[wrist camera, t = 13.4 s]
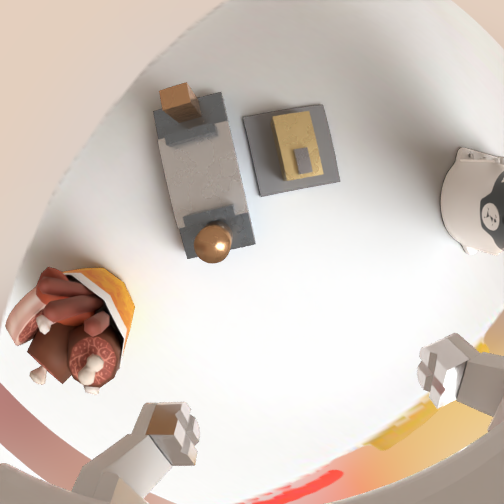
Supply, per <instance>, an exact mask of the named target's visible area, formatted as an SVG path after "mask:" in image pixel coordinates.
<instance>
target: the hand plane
mask: <svg viewBox="0 0 504 504" xmlns="http://www.w3.org/2000/svg"><path fill="white" fill-rule="evenodd" d="M159 93H160V99H161V104H162V109H159V110H156V111H153V112H154V118H155V123H156V128H157V134H158V139H159V140H158V145H159V150H160V155H161V160H162V164H163V169H164V173H165V178H166V182H167V187H168V191H169V195H170V199H171V203H172V207H173V211H174V215H175V219H176V223H177V227H178V229H179V230H180V234H181V237H182V241H183V245H184V248H185V252H186V256H187V259H190V258H195V257H199V258H200V259H201V260H203V261H205V262H207V263H218V262H220V261H222V260H224V259H225V258H226V257H227V255H228V253H229V251H230V250H231V249H236V248H240V247H245V246H250V245H254V244H255V237H254V233H253V228H252V224H251V219H250V215H249V210H248V206H247V201H246V197H245V192H244V188H243V183H242V179H241V175H240V170H239V166H238V161H237V157H236V152H235V148H234V144H233V139H232V135H231V130H230V126H229V122H228V117H227V113H226V109H225V104H224V100H223V96H222V93H221V92H219V93H215V94H211V95H207V96H203V97H199V98H197V97H196V96H195V94H194V93H193V91H192V90H191V88H190V87H189V85H188V84H187V82H186V83H182V84H179V85H176V86H172V87H169V88H166V89H163V90H160V91H159Z"/></svg>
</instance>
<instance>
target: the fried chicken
mask: <svg viewBox="0 0 504 504" xmlns="http://www.w3.org/2000/svg"><path fill="white" fill-rule="evenodd" d="M134 309H135V306H134V303H133V301H132V299H131V297H130V295H129V293H128V291H127V288H126V286H125V284H124V282H122V281H121V280H119V279H118V278H117V277H115V276H114V275H113V274H111V273H110V272H109V271H107V270H106V269H105V268H82V269H76V270H70V271H64V272H61V271H59V270H57V269H55V268H51V267H47V268H46V269H45V270H44V271H43V272H42V273H41V275H40V278H39V280H38V283H37V285H36V287H35V288H33V289H32V290H31V291H30V292H29V293H27V294H26V295H25V296H24V297H23V298H22V299H21V300H20V301H19V302H18V304H17V305H16V306H15V307H14V308H13V310H12V311H11V313H10V314H9V317H8V319H7V321H6V325H5V326H6V329H7V331H8V332H9V334H10V336H11V338H12V339H13V341H14V343H15V345H17V346H19V345H22V344H24V343H26V342H28V341H30V340H31V339H33V340H32V342H31V344H30V346H29V348H28V351H27V352H28V353H29V354H30V355H31V356H32V357H33V358H34V359H35V360H36V361H37V362H38V363H39V364H40V365H41V366H40V367H39V368H37V369H35V370H33V371H31V372H30V377H31V379H32V380H33V381H34V382H36V383H37V384H41V385H43V384H45V381H46V373H47V371H48V372H49V373H50V374H51V375H53V376H54V377H55V378H56V379H57V380H58V381H60V382H61V383H62V384H63V383H64V382H65V381H66V380H67V379H68V378H69V377H70V376H71V375H72V376H73V378H74V379H75V380H76V381H78V382H79V383H81V384H82V385H84V388H85V391H86V392H87V393H90V394H93V395H97V394H98V393H99V389H100V387H102V386H103V385H104V384H106V383H107V382H109V381H110V380H112V379H113V378H114V377H115V374H116V372H117V370H118V369H120V366H121V361H122V356H123V352H124V349H125V345H126V342H127V338H128V335H129V331H130V328H131V323H132V318H133V314H134Z"/></svg>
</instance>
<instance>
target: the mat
mask: <svg viewBox="0 0 504 504" xmlns="http://www.w3.org/2000/svg"><path fill="white" fill-rule="evenodd" d="M304 111H309V112H310V116H311V120H312V124H313V128H314V133H315V137H316V141H317V145H318V150H319V155H320V159H321V164H322V169H323V175H317V176H311V177H306V178H301V179H295V180H290V181H283V177H282V173H281V168H280V164H279V159H278V155H277V150H276V146H275V141H274V137H273V133H272V129H271V124H270V122H271V119H272V117H273V116H278V115H284V114H290V113H297V112H304ZM243 120H244V124H245V128H246V133H247V137H248V141H249V146H250V150H251V154H252V159H253V163H254V168H255V172H256V177H257V181H258V186H259V190H260V195H261V197H263V196H268V195H273V194H278V193H283V192H288V191H293V190H298V189H303V188H308V187H314V186H319V185H325V184H330V183H336V182H340V177H339V172H338V167H337V162H336V157H335V153H334V148H333V144H332V139H331V135H330V131H329V126H328V122H327V118H326V114H325V110H324V107H323V105H315V106H307V107H299V108H292V109H286V110H280V111H274V112H268V113H262V114H257V115H252V116H247V117H243Z"/></svg>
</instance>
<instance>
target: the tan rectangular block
mask: <svg viewBox="0 0 504 504" xmlns="http://www.w3.org/2000/svg"><path fill="white" fill-rule="evenodd" d="M270 124H271V129H272V133H273V137H274V141H275V146H276V150H277V155H278V159H279V164H280V168H281V173H282V177H283V181H290V180H295V179H301V178H306V177H311V176H317V175H323V169H322V164H321V159H320V155H319V150H318V145H317V141H316V137H315V133H314V128H313V124H312V120H311V116H310V112H309V111H304V112H297V113H290V114H284V115H278V116H273V117H272V119H271V122H270Z"/></svg>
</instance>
